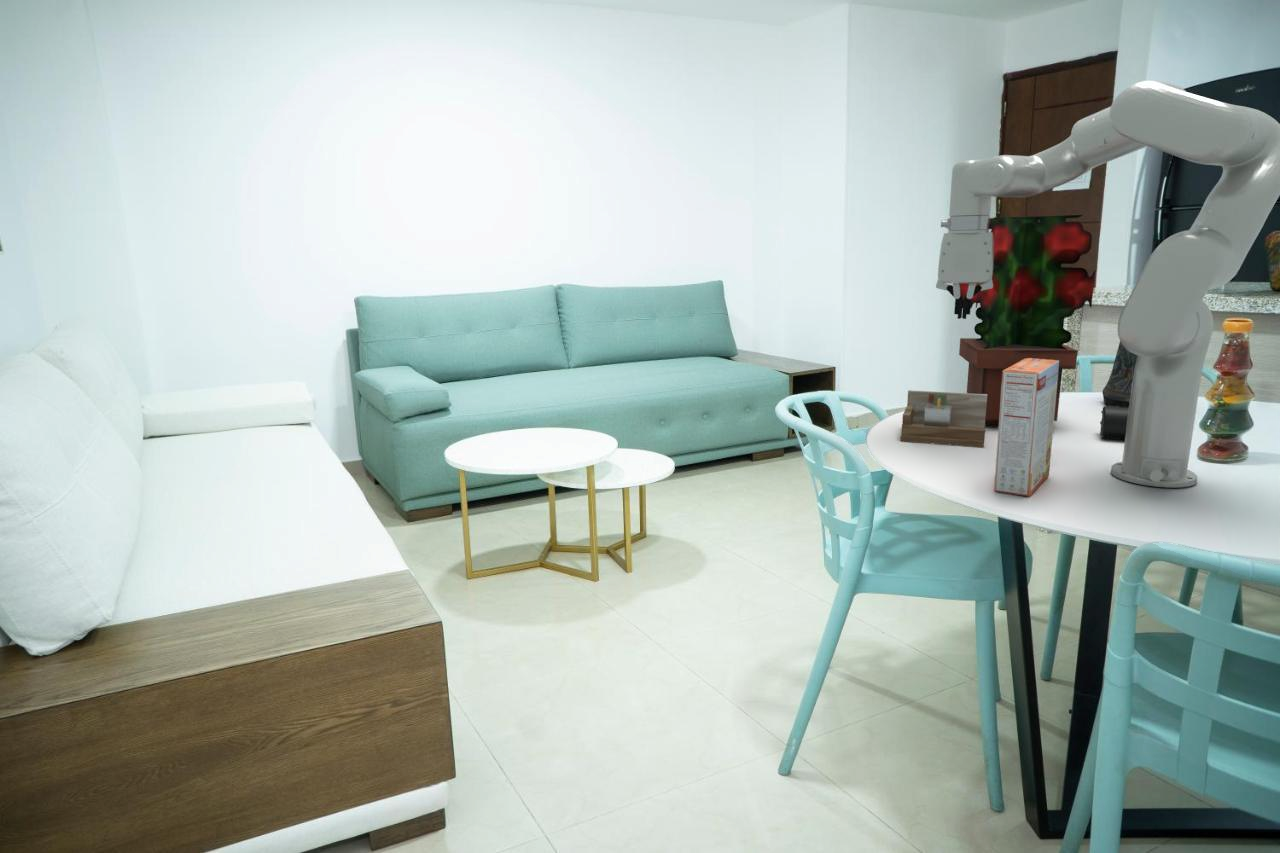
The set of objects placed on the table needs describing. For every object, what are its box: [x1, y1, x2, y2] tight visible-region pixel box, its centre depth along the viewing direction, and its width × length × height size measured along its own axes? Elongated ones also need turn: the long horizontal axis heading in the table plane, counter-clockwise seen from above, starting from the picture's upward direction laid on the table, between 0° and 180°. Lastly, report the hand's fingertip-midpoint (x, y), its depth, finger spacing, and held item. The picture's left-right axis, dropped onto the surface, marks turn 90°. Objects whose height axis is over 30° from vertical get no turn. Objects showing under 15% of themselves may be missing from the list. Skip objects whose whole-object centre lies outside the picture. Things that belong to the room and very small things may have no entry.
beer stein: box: [1102, 340, 1138, 408], centre depth 185 cm, size 16×19×25 cm
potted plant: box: [958, 214, 1096, 427], centre depth 173 cm, size 22×22×45 cm
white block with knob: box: [924, 398, 952, 427], centre depth 166 cm, size 5×5×6 cm
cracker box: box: [993, 358, 1059, 497], centre depth 132 cm, size 14×6×21 cm, turn 141°
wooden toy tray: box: [900, 389, 987, 448], centre depth 166 cm, size 14×16×8 cm
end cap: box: [1099, 405, 1129, 441], centre depth 160 cm, size 10×7×7 cm
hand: (961, 318), depth 160 cm, fingers closed
